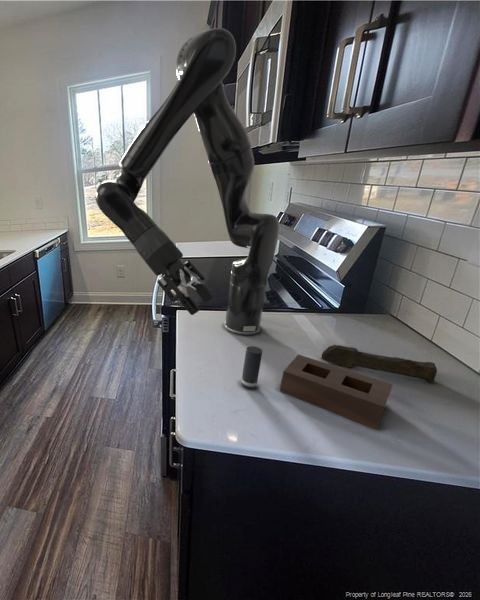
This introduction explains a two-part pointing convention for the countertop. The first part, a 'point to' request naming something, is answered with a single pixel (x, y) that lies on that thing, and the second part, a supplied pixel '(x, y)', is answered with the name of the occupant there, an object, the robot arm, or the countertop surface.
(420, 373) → the hand tool
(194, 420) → the countertop surface
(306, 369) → the holder
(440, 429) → the countertop surface
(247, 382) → the dark grey cylinder
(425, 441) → the countertop surface
